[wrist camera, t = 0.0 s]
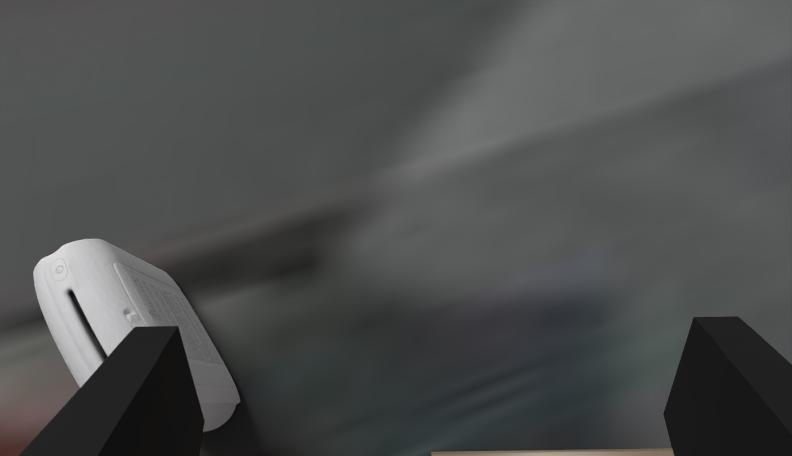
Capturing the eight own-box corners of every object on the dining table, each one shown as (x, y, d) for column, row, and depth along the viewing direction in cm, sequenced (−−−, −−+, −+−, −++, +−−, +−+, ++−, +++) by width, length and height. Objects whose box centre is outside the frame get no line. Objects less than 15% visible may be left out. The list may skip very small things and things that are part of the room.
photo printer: (108, 300, 43) (-7, 264, 31) (169, 262, 43) (79, 213, 31) (190, 446, 41) (101, 469, 29) (253, 405, 41) (191, 410, 29)
